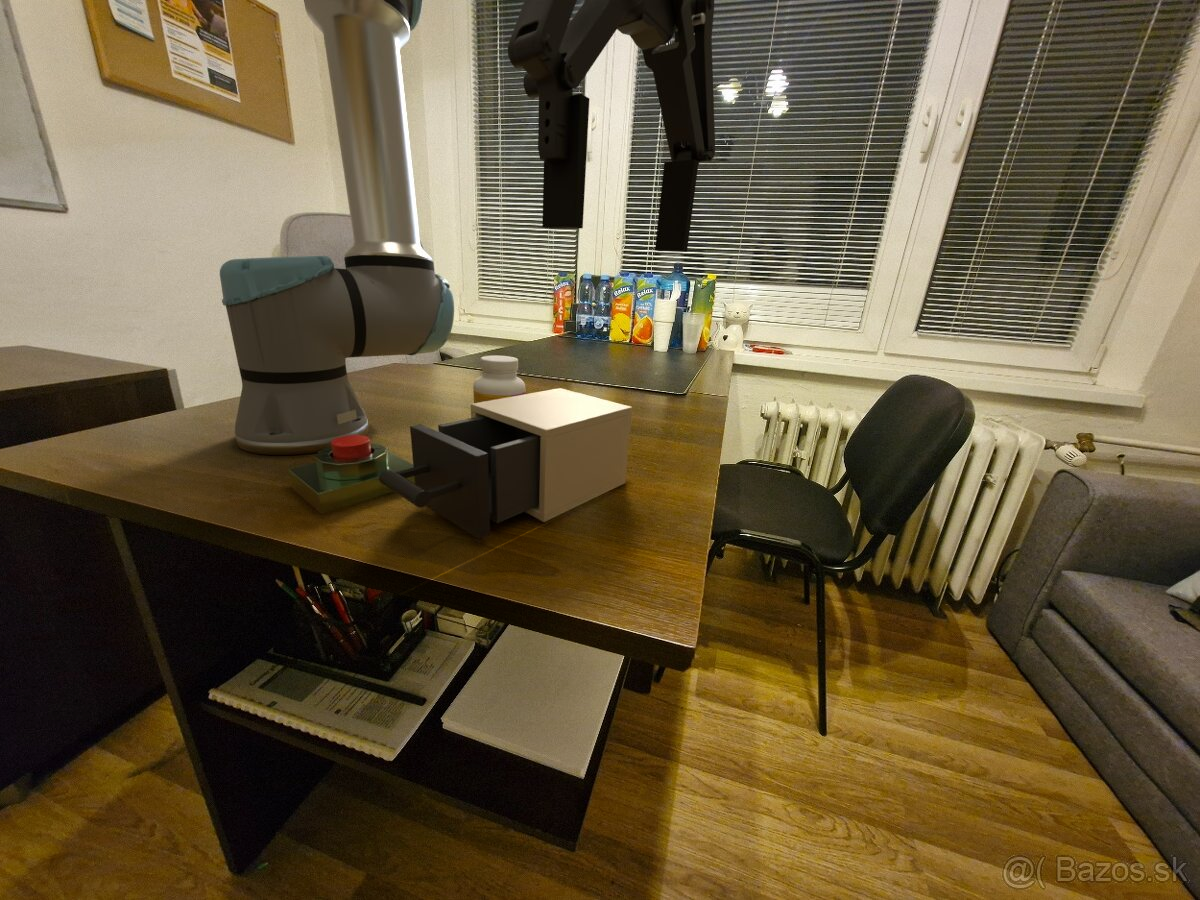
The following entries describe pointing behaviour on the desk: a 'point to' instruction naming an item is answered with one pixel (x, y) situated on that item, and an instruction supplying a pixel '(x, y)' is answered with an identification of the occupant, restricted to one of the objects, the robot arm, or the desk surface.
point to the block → (345, 478)
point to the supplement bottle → (498, 379)
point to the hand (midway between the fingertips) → (625, 241)
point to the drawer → (471, 472)
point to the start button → (351, 447)
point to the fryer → (569, 444)
